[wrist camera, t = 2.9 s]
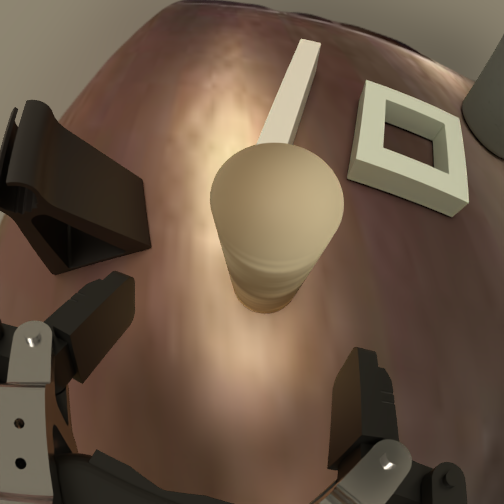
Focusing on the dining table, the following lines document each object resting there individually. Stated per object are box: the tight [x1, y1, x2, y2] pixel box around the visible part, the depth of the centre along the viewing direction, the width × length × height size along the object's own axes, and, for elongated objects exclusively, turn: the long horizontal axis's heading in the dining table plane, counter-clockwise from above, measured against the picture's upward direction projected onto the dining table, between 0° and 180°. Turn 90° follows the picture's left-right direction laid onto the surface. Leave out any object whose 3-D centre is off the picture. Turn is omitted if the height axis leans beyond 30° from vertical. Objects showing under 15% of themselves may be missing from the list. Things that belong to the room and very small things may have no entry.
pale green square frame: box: [347, 80, 469, 217], centre depth 24 cm, size 10×10×3 cm
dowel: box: [210, 143, 344, 313], centre depth 16 cm, size 4×4×12 cm
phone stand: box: [0, 100, 151, 275], centre depth 17 cm, size 9×6×12 cm, turn 104°
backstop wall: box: [256, 39, 321, 145], centre depth 24 cm, size 2×16×4 cm, turn 162°
